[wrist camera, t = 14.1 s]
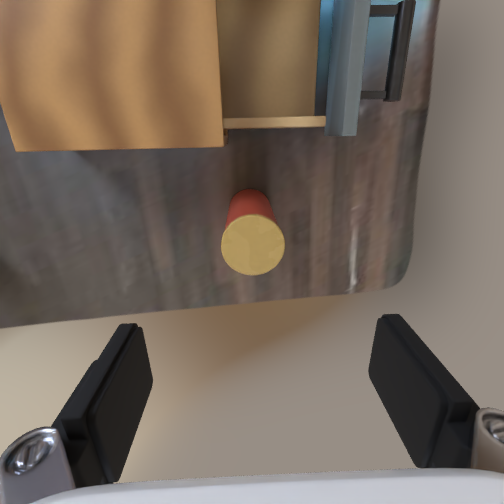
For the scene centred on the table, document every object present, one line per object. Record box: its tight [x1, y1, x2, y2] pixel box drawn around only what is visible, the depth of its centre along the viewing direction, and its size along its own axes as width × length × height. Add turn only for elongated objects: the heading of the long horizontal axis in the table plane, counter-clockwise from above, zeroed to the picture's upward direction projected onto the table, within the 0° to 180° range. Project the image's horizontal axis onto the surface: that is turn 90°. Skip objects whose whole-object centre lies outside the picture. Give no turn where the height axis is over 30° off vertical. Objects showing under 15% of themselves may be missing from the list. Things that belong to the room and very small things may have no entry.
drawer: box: [217, 0, 416, 136], centre depth 24 cm, size 20×13×6 cm, turn 91°
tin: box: [221, 189, 285, 275], centre depth 28 cm, size 5×5×12 cm
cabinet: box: [0, 0, 228, 152], centre depth 24 cm, size 17×14×8 cm
